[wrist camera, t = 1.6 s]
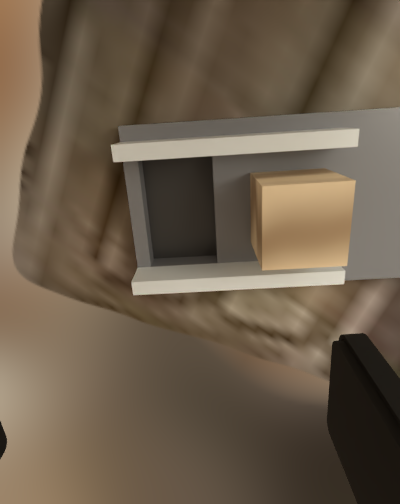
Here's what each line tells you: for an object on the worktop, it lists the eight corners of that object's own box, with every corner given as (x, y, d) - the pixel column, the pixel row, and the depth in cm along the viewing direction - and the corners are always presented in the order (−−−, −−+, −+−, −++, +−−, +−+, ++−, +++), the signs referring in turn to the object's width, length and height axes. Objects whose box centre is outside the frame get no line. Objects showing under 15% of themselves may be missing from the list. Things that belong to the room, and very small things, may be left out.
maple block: (250, 172, 23) (262, 186, 19) (324, 168, 23) (355, 180, 18) (250, 242, 25) (261, 270, 20) (320, 238, 25) (347, 265, 20)
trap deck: (124, 125, 24) (107, 126, 20) (488, 101, 23) (551, 97, 19) (144, 279, 28) (134, 307, 24) (453, 263, 28) (497, 289, 23)
